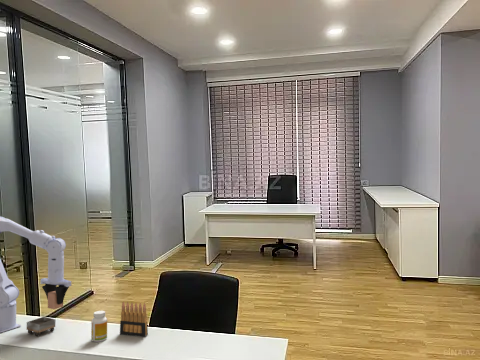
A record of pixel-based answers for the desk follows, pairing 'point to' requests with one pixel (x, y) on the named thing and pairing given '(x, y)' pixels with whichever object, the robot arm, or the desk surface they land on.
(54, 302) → the block
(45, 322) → the cart
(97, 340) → the supplement bottle
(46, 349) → the desk surface
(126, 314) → the ammunition clip
